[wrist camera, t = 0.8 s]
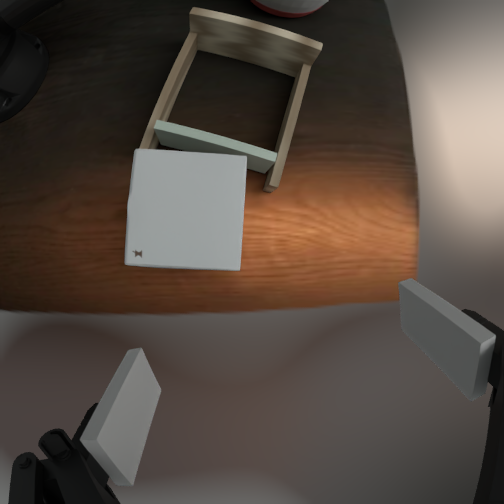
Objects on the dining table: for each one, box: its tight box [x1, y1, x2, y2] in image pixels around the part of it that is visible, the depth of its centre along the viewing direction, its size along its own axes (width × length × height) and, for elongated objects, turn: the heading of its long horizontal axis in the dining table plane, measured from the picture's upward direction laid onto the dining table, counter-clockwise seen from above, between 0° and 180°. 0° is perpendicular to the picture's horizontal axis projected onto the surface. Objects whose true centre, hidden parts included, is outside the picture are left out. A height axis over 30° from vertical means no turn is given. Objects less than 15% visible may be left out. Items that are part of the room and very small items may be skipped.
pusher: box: [154, 120, 277, 174], centre depth 34 cm, size 13×1×6 cm, turn 74°
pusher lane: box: [139, 7, 323, 193], centre depth 33 cm, size 16×18×8 cm
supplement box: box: [125, 149, 247, 271], centre depth 30 cm, size 9×9×15 cm
